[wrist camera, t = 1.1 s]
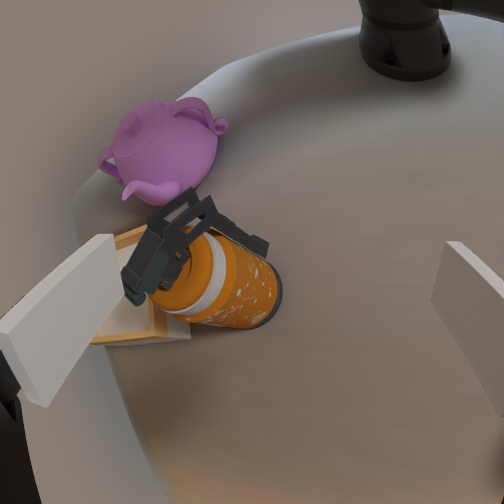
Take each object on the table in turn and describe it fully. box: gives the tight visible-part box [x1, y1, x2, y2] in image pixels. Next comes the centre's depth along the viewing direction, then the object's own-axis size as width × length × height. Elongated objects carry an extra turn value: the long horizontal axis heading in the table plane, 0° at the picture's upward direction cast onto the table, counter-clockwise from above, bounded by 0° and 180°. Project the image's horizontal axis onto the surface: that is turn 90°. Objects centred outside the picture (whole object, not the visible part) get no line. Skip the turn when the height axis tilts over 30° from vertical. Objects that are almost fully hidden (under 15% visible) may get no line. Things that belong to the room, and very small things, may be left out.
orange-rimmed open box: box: [89, 224, 191, 346], centre depth 44 cm, size 15×15×8 cm
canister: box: [120, 186, 283, 329], centre depth 32 cm, size 9×11×20 cm
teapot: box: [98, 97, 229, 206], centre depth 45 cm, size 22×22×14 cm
